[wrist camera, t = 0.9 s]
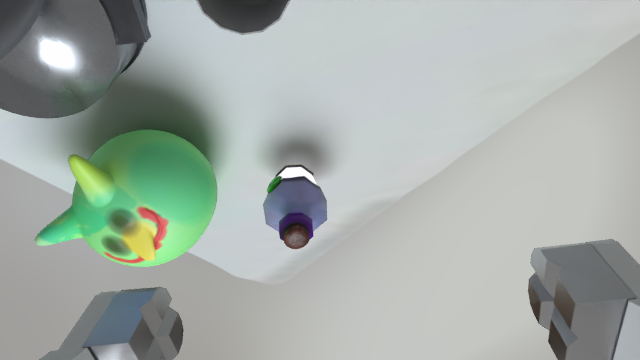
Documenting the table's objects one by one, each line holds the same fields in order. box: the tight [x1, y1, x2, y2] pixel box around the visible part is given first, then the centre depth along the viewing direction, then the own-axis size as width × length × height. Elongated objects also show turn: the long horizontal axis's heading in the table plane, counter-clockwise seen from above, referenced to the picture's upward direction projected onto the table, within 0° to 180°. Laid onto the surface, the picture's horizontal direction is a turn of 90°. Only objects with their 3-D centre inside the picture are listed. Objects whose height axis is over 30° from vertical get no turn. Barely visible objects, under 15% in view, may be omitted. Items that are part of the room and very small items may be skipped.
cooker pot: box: [0, 0, 151, 118], centre depth 40 cm, size 17×21×10 cm
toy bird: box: [35, 129, 217, 267], centre depth 51 cm, size 18×17×15 cm
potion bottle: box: [263, 165, 327, 249], centre depth 55 cm, size 9×9×12 cm
